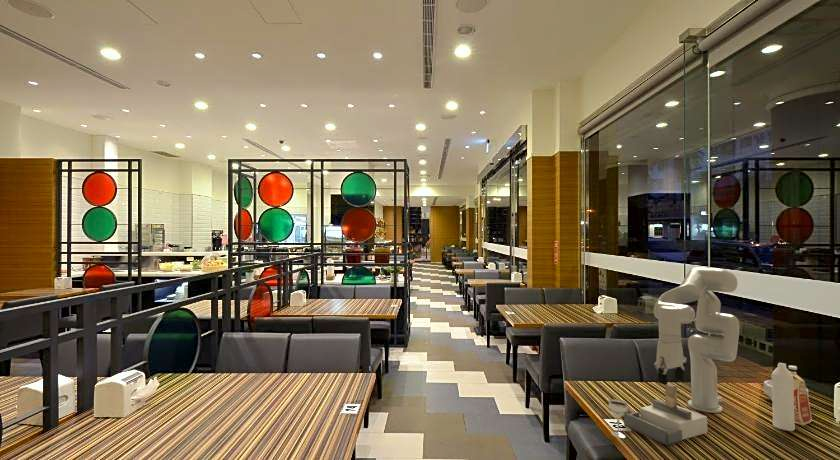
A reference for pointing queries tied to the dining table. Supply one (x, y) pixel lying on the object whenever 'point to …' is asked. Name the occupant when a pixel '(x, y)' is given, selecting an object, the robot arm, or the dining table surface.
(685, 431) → the white flat square block
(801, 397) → the milk carton
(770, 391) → the paper bowls
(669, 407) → the scraper
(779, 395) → the water bottle
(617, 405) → the wineglass
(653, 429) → the tray
